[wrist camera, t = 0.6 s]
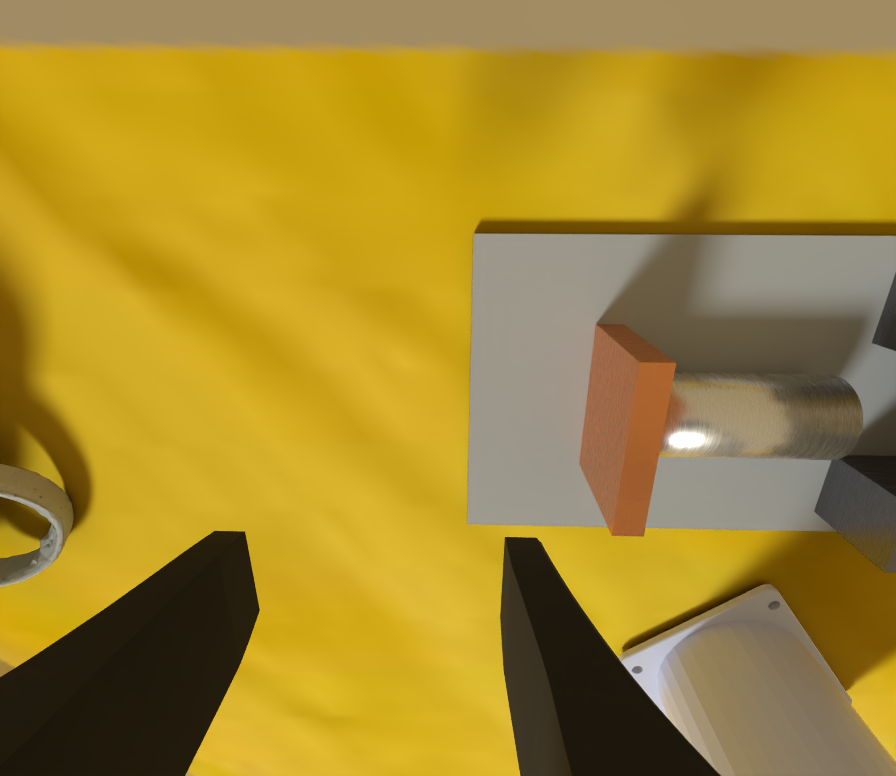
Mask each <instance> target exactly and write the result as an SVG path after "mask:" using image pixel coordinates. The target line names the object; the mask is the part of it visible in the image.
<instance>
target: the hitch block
mask: <svg viewBox="0 0 896 776" xmlns="http://www.w3.org/2000/svg"><path fill="white" fill-rule="evenodd" d="M872 343H873V344H876V345H879V346H882V347H885V348H888V349H891V350H894V351H896V273H895V276H894V279H893V282H892V285H891V288H890V290H889V293H888V296H887V299H886V302H885V305H884V308H883V311H882V314H881V317H880V320H879V323H878V326H877V328H876V331H875V334H874V337H873V340H872ZM814 512H815V513H816V514H817V515H818V516H820V517H821V518H822V519H823V520H824V521H825V522H827V523H828V524H829V525H830V526H831V527H832V528H833V529H835V530H836V531H837V532H838V533H839V534H840V535H842V536H843V537H844V538H845V539H846V540H847V541H848V542H850V543H851V544H852V545H853V546H854V547H855V548H856V549H858V550H859V551H860V552H861V553H862V554H863V555H865V556H866V557H867V558H868V559H869V560H870V561H871V562H873V563H874V564H875V565H876V566H877V567H878V568H880V569H881V570H882V571H883V572H893V573H896V456H878V455H846V456H845V457H843V458H841V459H837V460H831V463H830V466H829V469H828V472H827V475H826V477H825V480H824V483H823V486H822V489H821V492H820V495H819V498H818V501H817V504H816V507H815V510H814Z"/></svg>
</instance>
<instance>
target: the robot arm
mask: <svg viewBox="0 0 896 776" xmlns="http://www.w3.org/2000/svg"><path fill="white" fill-rule="evenodd" d="M259 611H260V610H259V604H258V599H257V594H256V588H255V583H254V577H253V572H252V567H251V561H250V556H249V551H248V545H247V540H246V535H245V532H237V531H214V532H213V533H211V534H210V535H208V536H207V537H205V538H203V539H202V540H201V541H199V542H198V543H196V544H195V545H193V546H192V547H191V548H189V549H188V550H186V551H185V552H184V553H182V554H181V555H179V556H178V557H177V558H175V559H174V560H172V561H171V562H170V563H168V564H167V565H166V566H164V567H163V568H161V569H160V570H159V571H157V572H156V573H155V574H153V575H152V576H150V577H149V578H148V579H146V580H145V581H143V582H142V583H141V584H139V585H138V586H136V587H135V588H134V589H132V590H131V591H129V592H128V593H127V594H125V595H124V596H122V597H121V598H120V599H118V600H117V601H115V602H114V603H112V604H111V605H110V606H108V607H107V608H105V609H104V610H103V611H101V612H100V613H98V614H97V615H95V616H94V617H92V618H91V619H89V620H88V621H86V622H85V623H83V624H82V625H80V626H79V627H77V628H76V629H74V630H73V631H71V632H70V633H68V634H67V635H65V636H64V637H62V638H61V639H59V640H58V641H56V642H55V643H53V644H52V645H50V646H49V647H47V648H46V649H44V650H43V651H41V652H40V653H38V654H37V655H35V656H34V657H32V658H30V659H29V660H27V661H26V662H24V663H22V664H21V665H19V666H18V667H16V668H15V669H13V670H11V671H10V672H8V673H6V674H5V675H3V676H2V677H0V776H185V774H186V773H187V771H188V769H189V767H190V765H191V763H192V761H193V759H194V757H195V755H196V753H197V751H198V749H199V747H200V745H201V743H202V741H203V739H204V737H205V735H206V733H207V731H208V729H209V727H210V725H211V723H212V721H213V719H214V717H215V715H216V713H217V711H218V709H219V707H220V705H221V702H222V700H223V698H224V696H225V694H226V692H227V690H228V688H229V686H230V684H231V682H232V680H233V678H234V676H235V674H236V672H237V670H238V668H239V665H240V663H241V661H242V658H243V655H244V653H245V650H246V647H247V645H248V642H249V640H250V637H251V634H252V631H253V628H254V625H255V622H256V619H257V616H258V614H259ZM500 619H501V635H502V651H503V666H504V675H505V682H506V688H507V694H508V701H509V707H510V713H511V720H512V726H513V732H514V738H515V744H516V751H517V757H518V763H519V769H520V775H521V776H896V762H895V761H894V759H893V758H892V757H891V755H890V754H889V753H888V752H887V750H886V749H885V748H884V746H883V745H882V744H881V743H880V741H879V740H878V739H877V737H876V736H875V735H874V734H873V732H872V731H871V730H870V729H869V727H868V726H867V725H866V723H865V722H864V721H863V720H862V718H861V717H860V716H859V714H858V713H857V712H856V711H855V709H854V708H853V707H852V705H851V704H852V700H851V698H850V696H849V695H848V693H847V692H846V690H845V689H844V688H843V686H842V685H841V683H840V682H839V680H838V679H837V677H836V676H835V674H834V673H833V671H832V670H831V668H830V667H829V665H828V664H827V662H826V661H825V659H824V658H823V656H822V655H821V653H820V652H819V650H818V649H817V647H816V646H815V644H814V643H813V642H812V640H811V639H810V637H809V636H808V634H807V633H806V631H805V630H804V628H803V627H802V625H801V624H800V622H799V621H798V619H797V618H796V616H795V615H794V613H793V612H792V610H791V609H790V607H789V606H788V604H787V603H786V601H785V600H784V599H783V597H782V596H781V594H780V593H779V591H778V590H777V589H776V588H775V587H774V586H773V585H770V584H764V585H760V586H758V587H756V588H754V589H752V590H750V591H748V592H746V593H744V594H742V595H740V596H738V597H736V598H734V599H731V600H729V601H727V602H725V603H723V604H721V605H719V606H717V607H715V608H713V609H711V610H709V611H707V612H705V613H703V614H701V615H698V616H696V617H694V618H692V619H690V620H688V621H686V622H684V623H682V624H680V625H678V626H676V627H674V628H672V629H670V630H668V631H665V632H663V633H661V634H659V635H657V636H655V637H653V638H651V639H649V640H647V641H645V642H643V643H641V644H639V645H637V646H635V647H632V648H630V649H628V650H626V651H624V652H623V653H622V654H621V655H620V660H619V659H618V657H617V656H616V655H615V653H614V652H613V651H612V650H611V648H610V647H609V646H608V644H607V643H606V642H605V640H604V639H603V638H602V636H601V635H600V633H599V632H598V631H597V629H596V628H595V626H594V625H593V624H592V622H591V621H590V619H589V618H588V616H587V615H586V614H585V612H584V611H583V609H582V608H581V607H580V605H579V604H578V602H577V601H576V599H575V598H574V596H573V595H572V593H571V592H570V590H569V589H568V587H567V585H566V584H565V582H564V581H563V579H562V578H561V576H560V574H559V573H558V571H557V570H556V568H555V566H554V565H553V563H552V561H551V559H550V558H549V556H548V554H547V552H546V551H545V549H544V547H543V545H542V543H541V542H540V541H539V540H538V539H537V538H523V537H505V545H504V563H503V580H502V597H501V614H500Z"/></svg>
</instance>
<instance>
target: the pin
mask: <svg viewBox="0 0 896 776" xmlns="http://www.w3.org/2000/svg"><path fill="white" fill-rule="evenodd" d="M675 368H676V362H675V361H673V360H672V359H670V358H669V357H668V356H666V355H665V354H664V353H662V352H661V351H660V350H658V349H657V348H655V347H654V346H653V345H651V344H650V343H649V342H647V341H646V340H645V339H643V338H642V337H640V336H639V335H638V334H636V333H635V332H634V331H632V330H631V329H629V328H628V327H627V326H625V325H624V324H596V326H595V334H594V343H593V351H592V359H591V368H590V376H589V384H588V393H587V401H586V409H585V418H584V426H583V434H582V443H581V451H580V459H579V465H580V467H581V469H582V471H583V473H584V476H585V478H586V480H587V482H588V484H589V487H590V489H591V491H592V493H593V495H594V498H595V500H596V502H597V504H598V506H599V509H600V511H601V513H602V515H603V517H604V519H605V522H606V524H607V526H608V528H609V530H610V533H611V535H612V536H644V532H645V526H646V521H647V516H648V510H649V505H650V500H651V495H652V489H653V484H654V479H655V473H656V468H657V463H658V458H659V457H665V458H725V459H784V460H837V459H841V458H843V457H845V456H846V455H848V454H849V453H850V452H851V451H852V450H853V449H854V448H855V446H856V445H857V443H858V441H859V439H860V436H861V433H862V428H863V411H862V406H861V402H860V400H859V397H858V395H857V393H856V392H855V390H854V389H853V387H852V386H851V385H850V384H849V383H848V382H847V381H845V380H844V379H842V378H840V377H838V376H835V375H825V374H745V373H675Z"/></svg>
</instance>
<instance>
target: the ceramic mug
mask: <svg viewBox="0 0 896 776" xmlns="http://www.w3.org/2000/svg"><path fill="white" fill-rule="evenodd" d="M0 497H4V498H7V499H11V500H14V501H18V502H20V503H22V504H25V505H27V506H29V507H31V508H33V509H35V510H37V511H38V512H39V513H40V514H41V515H42V516H44V517H46V518H47V519H48V521H49V522H51V523H52V525H51V527H50V529H49V532H48V534H47V535H45V536H44V537H43V538H42V539H41V540H40V545H41V546H40V548H39V549H37V550H34V551H32V552H29V553H27V554H22V555H17V556H12V557H9V558H0V587H2V586H6V585H10V584H14V583H19V582H22V581H25V580H27V579H29V578H31V577H33V576H35V575H37V574H38V573H40V572H42V571H43V570H44V569H46V568H47V567H49V566H50V565H51V564H52V563H53V562H54V561H55V560H56V559H57V558H58V556H59V554H60V553H61V551H62V549H63V547H64V545H65V542H66V540H67V538H68V536H69V534H70V532H71V529H72V525H73V521H74V514H73V505H72V503H71V501H70V499H69V497H68V495H67V494H66V493H65V492H64V491H63V490H62V489H61V488H60V487H59V486H57V485H56V484H55V483H54V482H52V481H51V480H49V479H47V478H45V477H43V476H41V475H40V474H38V473H36V472H33V471H29V470H26V469H23V468H18V467H14V466H9V465H5V464H0Z"/></svg>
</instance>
